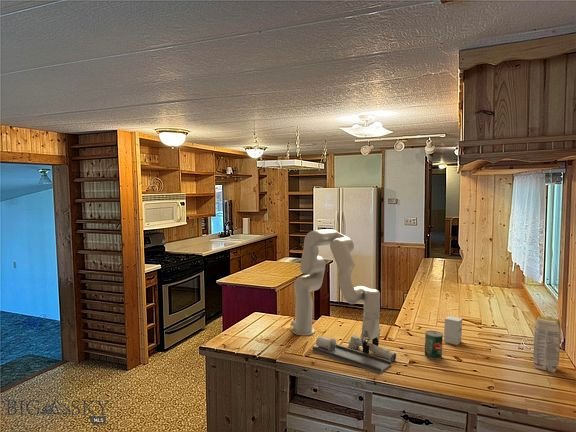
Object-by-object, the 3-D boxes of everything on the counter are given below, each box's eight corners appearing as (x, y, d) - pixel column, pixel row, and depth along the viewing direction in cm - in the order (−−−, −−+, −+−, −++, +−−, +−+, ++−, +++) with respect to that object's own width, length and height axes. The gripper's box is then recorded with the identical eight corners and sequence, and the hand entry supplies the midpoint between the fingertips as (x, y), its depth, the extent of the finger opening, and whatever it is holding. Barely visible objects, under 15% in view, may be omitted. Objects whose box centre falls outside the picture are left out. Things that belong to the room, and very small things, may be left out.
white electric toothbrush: (392, 354, 177) (347, 333, 194) (389, 368, 178) (345, 346, 195) (397, 351, 181) (353, 331, 198) (395, 365, 182) (351, 343, 199)
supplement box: (458, 345, 200) (459, 321, 199) (443, 342, 205) (444, 318, 204) (461, 341, 206) (462, 318, 205) (447, 338, 210) (448, 315, 210)
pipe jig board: (312, 351, 189) (312, 337, 188) (325, 345, 197) (325, 332, 197) (380, 374, 165) (380, 358, 165) (391, 365, 174) (391, 351, 173)
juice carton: (559, 368, 174) (562, 316, 173) (556, 374, 168) (559, 320, 167) (535, 362, 180) (537, 311, 179) (531, 367, 175) (534, 315, 173)
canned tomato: (440, 360, 181) (441, 337, 180) (423, 356, 184) (424, 334, 184) (443, 354, 188) (443, 332, 187) (426, 351, 191) (426, 329, 191)
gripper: (373, 309, 196) (372, 343, 197) (355, 317, 183) (354, 353, 183) (386, 312, 191) (385, 346, 192) (369, 320, 178) (368, 357, 179)
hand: (370, 349), depth 188 cm, fingers open, 9 cm apart
